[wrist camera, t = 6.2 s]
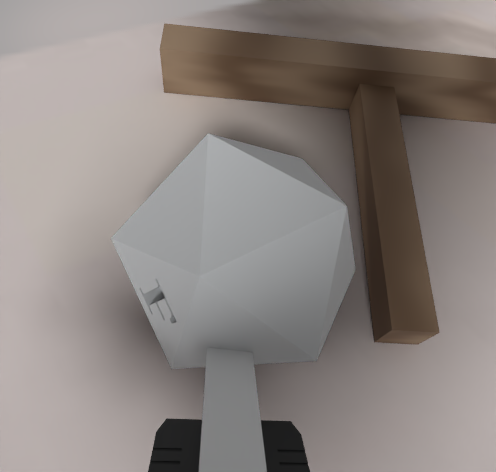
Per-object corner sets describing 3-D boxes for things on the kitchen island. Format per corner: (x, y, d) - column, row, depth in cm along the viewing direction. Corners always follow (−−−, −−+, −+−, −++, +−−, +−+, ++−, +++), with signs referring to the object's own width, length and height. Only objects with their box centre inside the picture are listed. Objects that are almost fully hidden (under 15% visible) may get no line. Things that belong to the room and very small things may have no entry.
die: (157, 206, 22) (18, 209, 13) (309, 125, 20) (275, 59, 11) (225, 351, 22) (134, 461, 13) (386, 284, 20) (419, 357, 11)
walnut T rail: (543, 104, 28) (579, 67, 25) (644, 356, 20) (710, 340, 18) (168, 68, 26) (164, 23, 23) (124, 328, 18) (112, 306, 16)
